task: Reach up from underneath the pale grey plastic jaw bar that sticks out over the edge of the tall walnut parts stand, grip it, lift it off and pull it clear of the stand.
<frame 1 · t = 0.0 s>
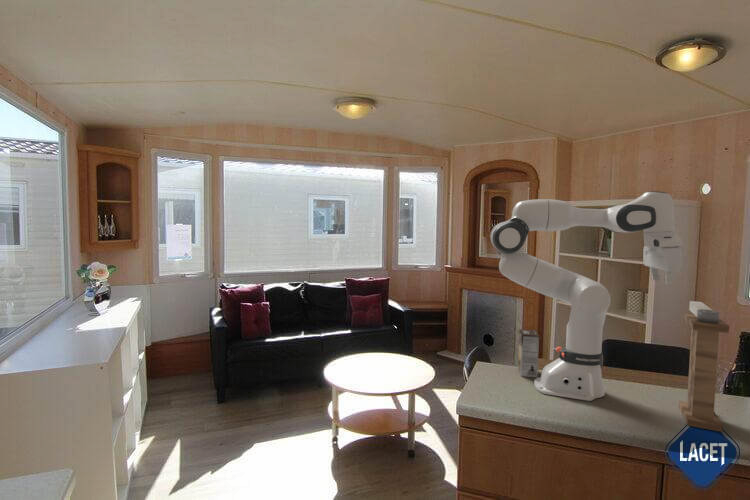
hand: (662, 282, 141), 39 cm above the worktop, tool pointing down, fingers open, 8 cm apart
jaw bar: (701, 316, 130), point 30 cm above the worktop, touching parts stand
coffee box: (527, 373, 166), on the worktop
parts stand: (699, 418, 128), on the worktop
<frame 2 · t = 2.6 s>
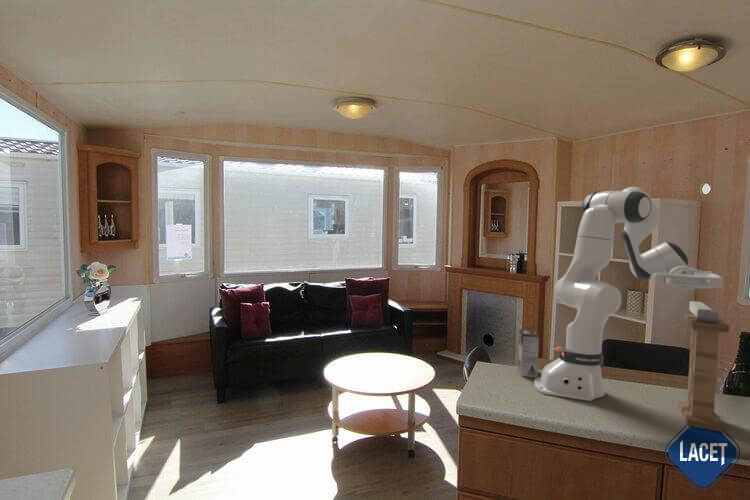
hand: (689, 282, 147), 38 cm above the worktop, tool horizontal, fingers open, 8 cm apart
nothing on the worktop moved.
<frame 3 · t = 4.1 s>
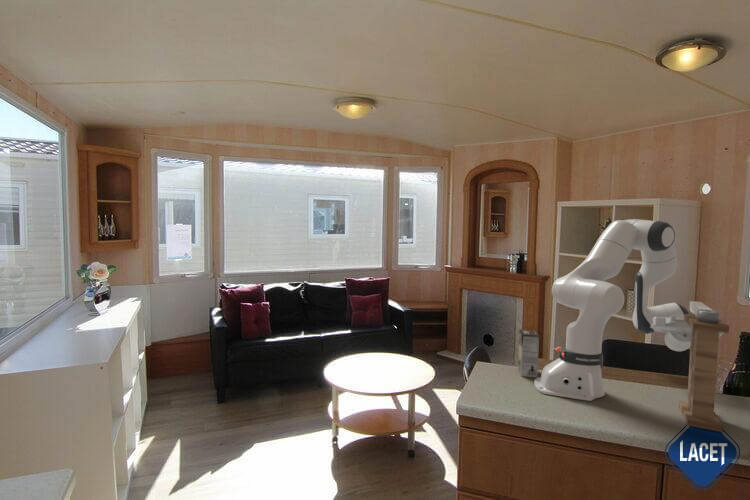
hand: (690, 319, 146), 26 cm above the worktop, tool pointing upward, fingers open, 8 cm apart
nothing on the worktop moved.
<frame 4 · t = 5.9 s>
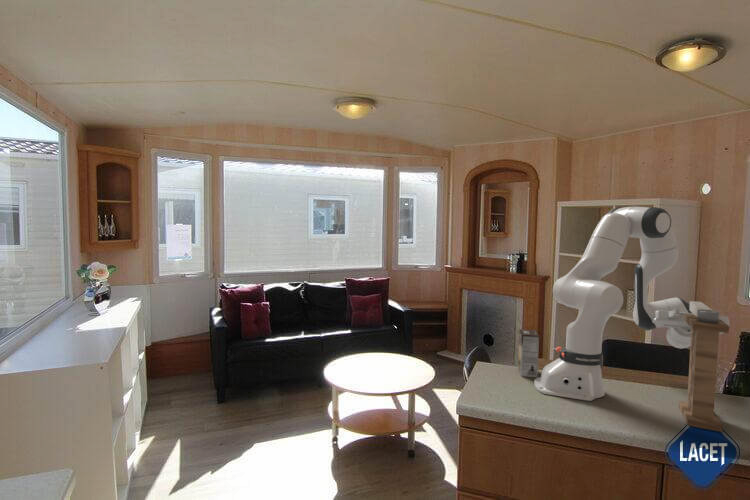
hand: (694, 312, 139), 29 cm above the worktop, tool pointing upward, fingers open, 8 cm apart
nothing on the worktop moved.
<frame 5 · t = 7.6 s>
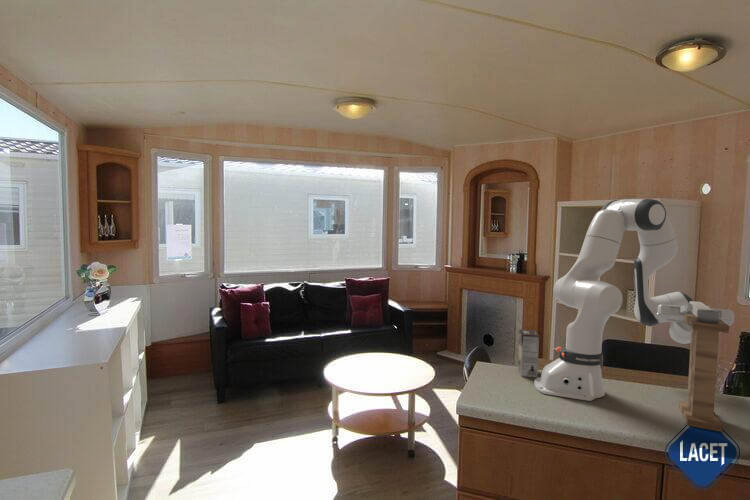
hand: (698, 306, 135), 32 cm above the worktop, tool pointing upward, fingers closed on jaw bar, 3 cm apart
jaw bar: (701, 316, 130), point 30 cm above the worktop, touching gripper, parts stand
everything else where it was.
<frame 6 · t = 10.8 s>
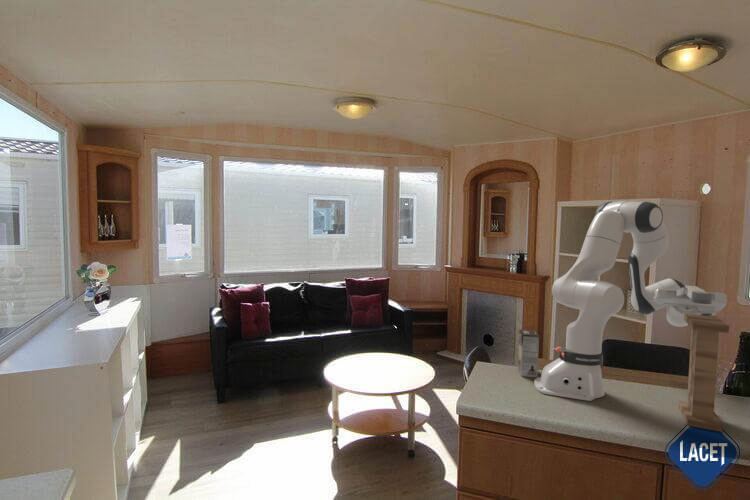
hand: (693, 290, 143), 36 cm above the worktop, tool pointing upward, fingers closed on jaw bar, 3 cm apart
jaw bar: (695, 298, 139), point 34 cm above the worktop, touching gripper
everything else where it was.
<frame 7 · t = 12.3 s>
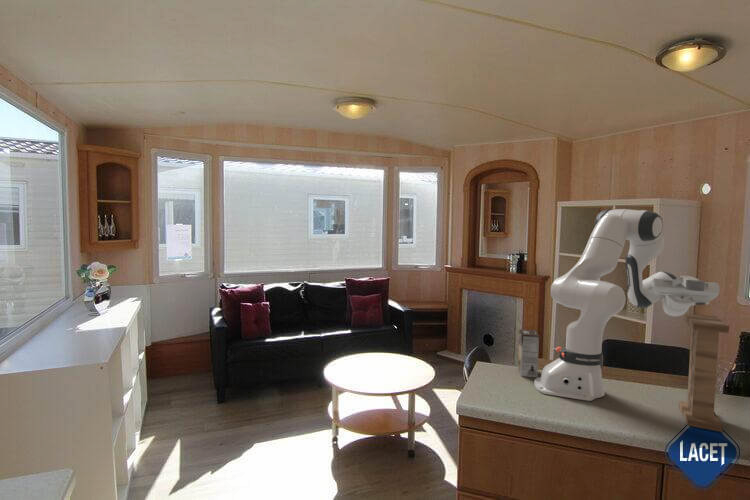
hand: (687, 279, 152), 39 cm above the worktop, tool pointing upward, fingers closed on jaw bar, 3 cm apart
jaw bar: (690, 287, 148), point 36 cm above the worktop, touching gripper
everything else where it was.
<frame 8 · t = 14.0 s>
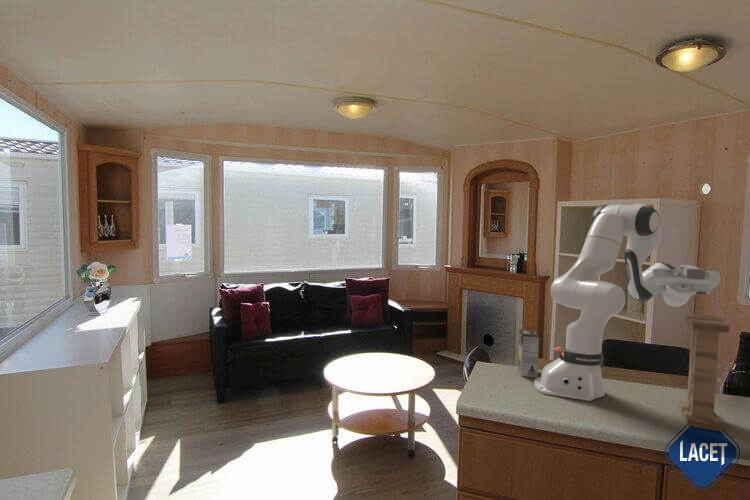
hand: (688, 268, 152), 42 cm above the worktop, tool pointing upward, fingers closed on jaw bar, 3 cm apart
jaw bar: (690, 275, 147), point 40 cm above the worktop, touching gripper
everything else where it was.
at the end: the gripper is holding jaw bar; jaw bar touching gripper; jaw bar moved 22.4 cm from its start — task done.
